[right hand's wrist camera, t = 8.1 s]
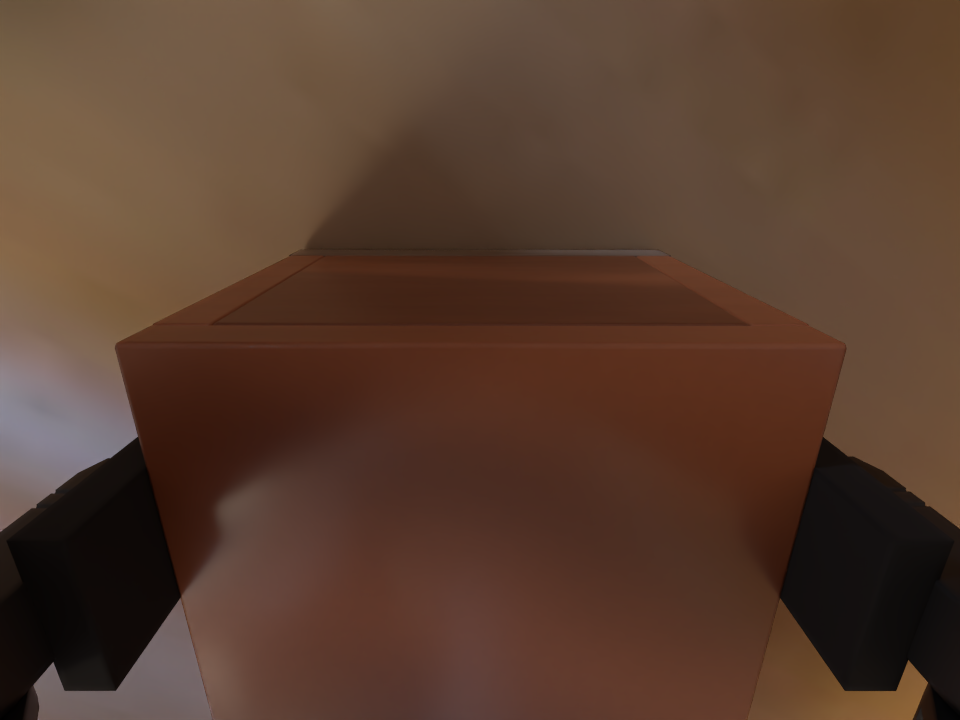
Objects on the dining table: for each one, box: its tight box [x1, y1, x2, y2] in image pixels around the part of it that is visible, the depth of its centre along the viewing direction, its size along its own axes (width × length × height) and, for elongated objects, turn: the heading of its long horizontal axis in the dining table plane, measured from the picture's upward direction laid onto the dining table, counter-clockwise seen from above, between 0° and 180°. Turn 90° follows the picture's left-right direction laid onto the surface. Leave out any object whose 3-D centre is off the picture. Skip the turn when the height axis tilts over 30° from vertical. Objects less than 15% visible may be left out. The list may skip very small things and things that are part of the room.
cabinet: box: [115, 249, 846, 720], centre depth 15 cm, size 20×11×9 cm, turn 0°
